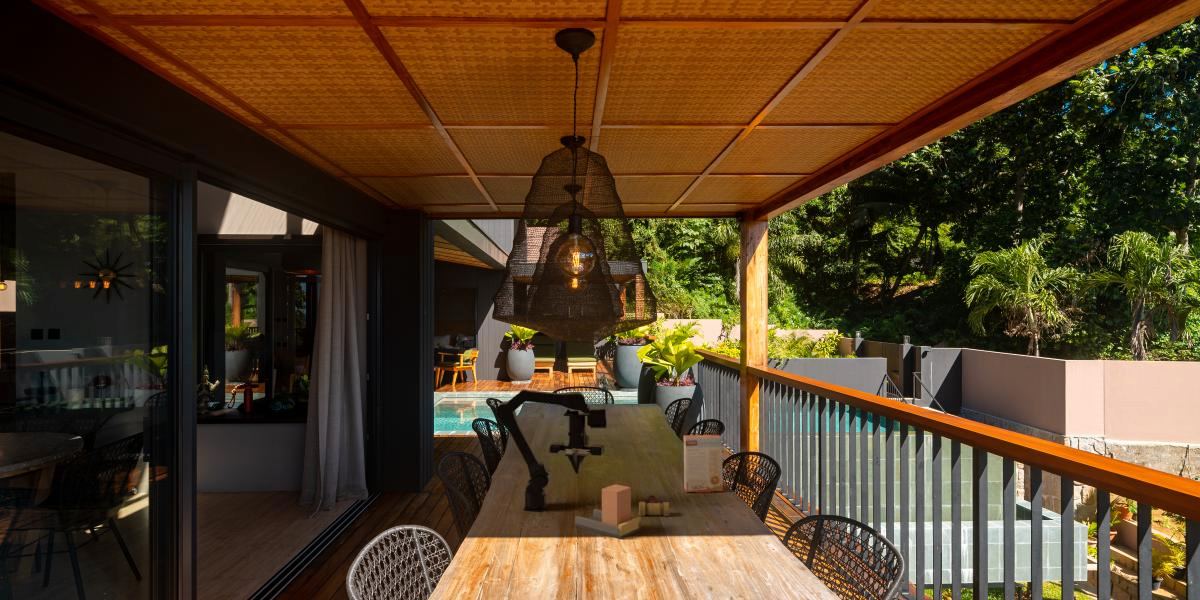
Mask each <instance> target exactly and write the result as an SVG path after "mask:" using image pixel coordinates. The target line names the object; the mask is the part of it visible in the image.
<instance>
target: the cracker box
mask: <svg viewBox="0 0 1200 600" xmlns="http://www.w3.org/2000/svg"><path fill="white" fill-rule="evenodd" d="M683 484H684V486H683V487H684V488H683V490H684V491H685V493H687V492H696V493H714V492H713V491H724V490H723V487H724V486H723V437H722V436H721V435H720V434H691V435H690V434H688V435H687V434H685V435H683ZM711 491H712V492H711Z"/></svg>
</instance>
